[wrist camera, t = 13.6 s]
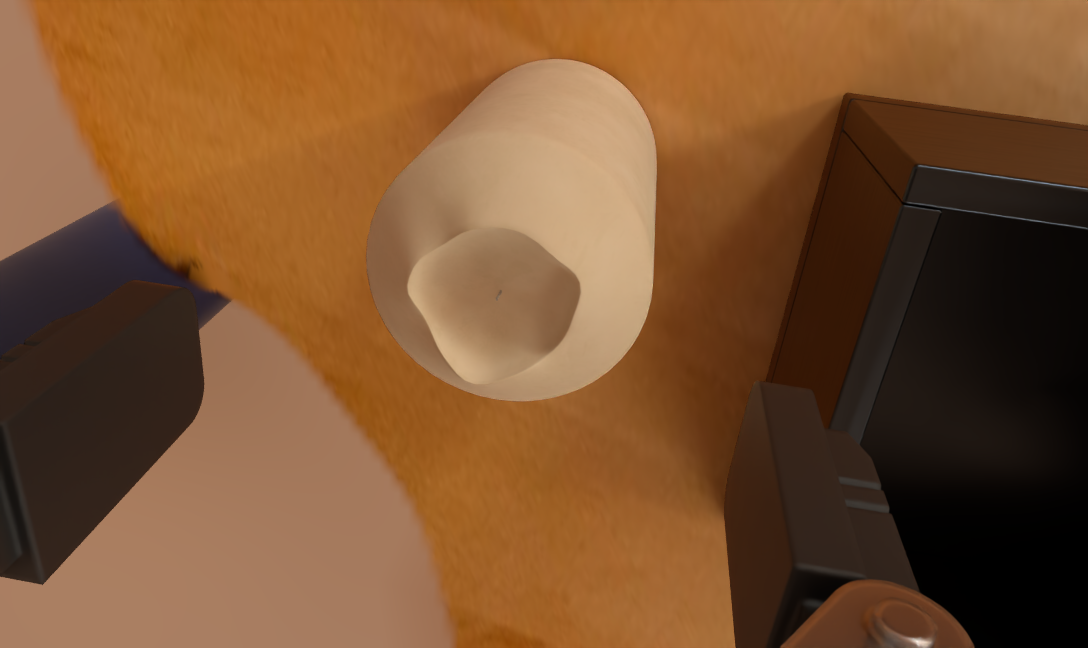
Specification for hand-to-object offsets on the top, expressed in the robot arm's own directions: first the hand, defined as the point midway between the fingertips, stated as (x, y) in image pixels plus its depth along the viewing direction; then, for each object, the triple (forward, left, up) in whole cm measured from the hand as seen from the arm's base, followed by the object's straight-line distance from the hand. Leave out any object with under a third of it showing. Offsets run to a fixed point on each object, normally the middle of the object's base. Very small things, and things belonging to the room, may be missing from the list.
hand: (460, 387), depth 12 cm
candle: (0, 0, -13) cm, 13 cm away
